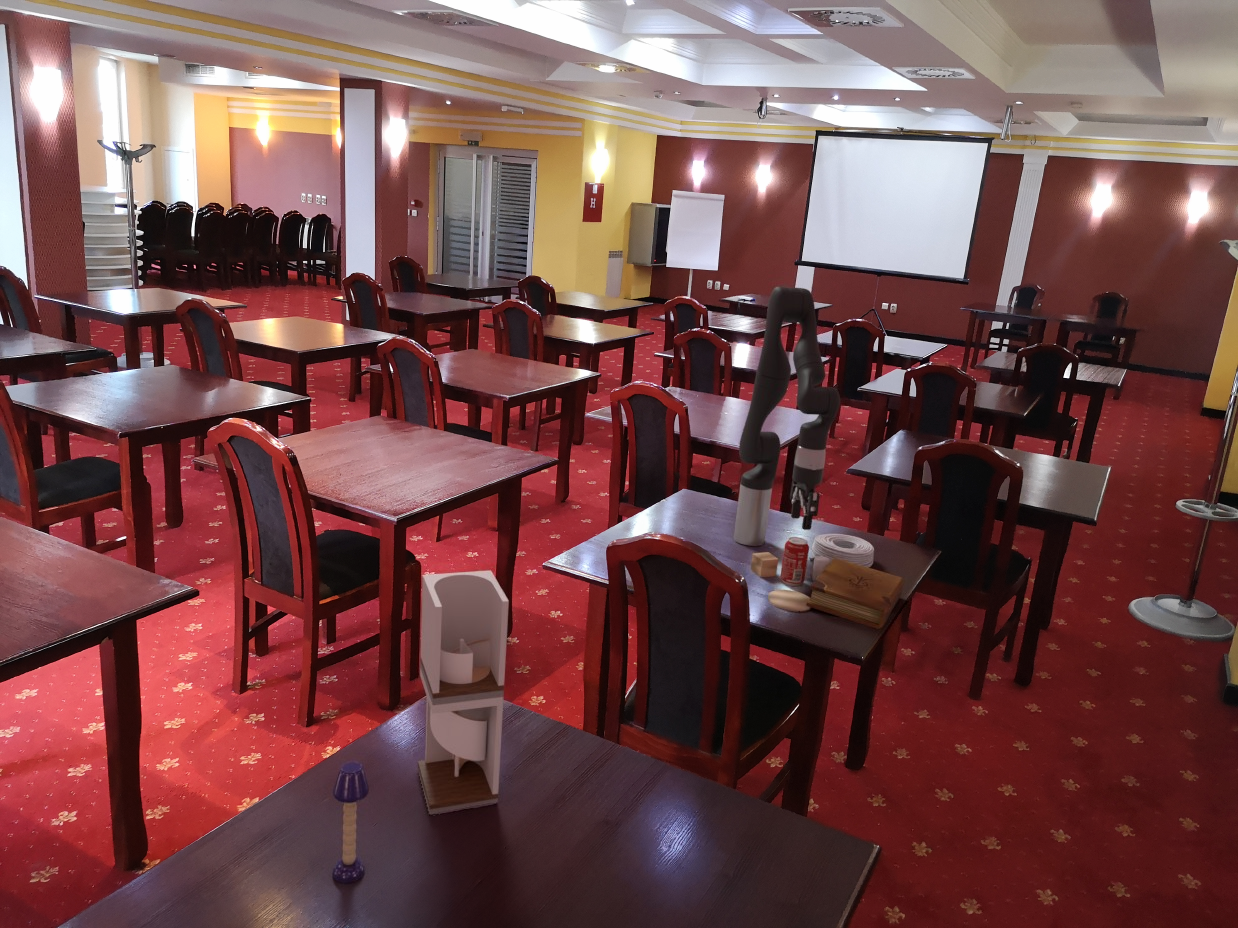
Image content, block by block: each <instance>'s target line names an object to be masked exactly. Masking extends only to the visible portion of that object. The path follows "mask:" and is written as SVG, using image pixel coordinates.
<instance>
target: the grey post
mask: <svg viewBox="0 0 1238 928" xmlns="http://www.w3.org/2000/svg"><path fill="white" fill-rule="evenodd" d="M813 561H814V564H813V568H812V575H811V580H812V581H813V582H814V581H815V580H816V579H817V577H818V576H819V575H820V574H821V573H822V572H823V571H824V569H825V568H826V567H827V566H828V565H829V561H830V559H829V558H827V557H823V556H816V557H814V560H813Z"/></svg>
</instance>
